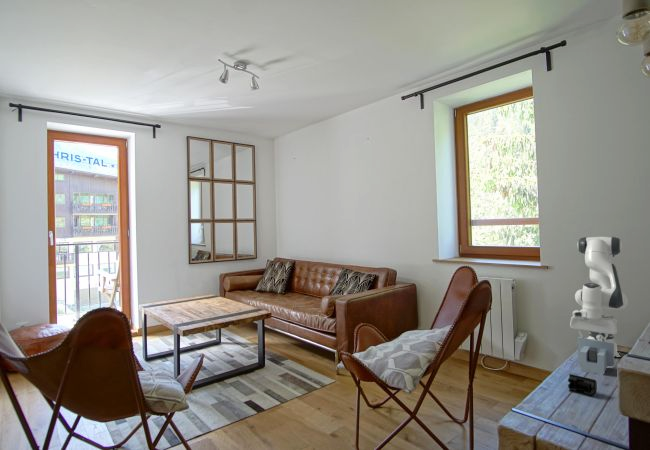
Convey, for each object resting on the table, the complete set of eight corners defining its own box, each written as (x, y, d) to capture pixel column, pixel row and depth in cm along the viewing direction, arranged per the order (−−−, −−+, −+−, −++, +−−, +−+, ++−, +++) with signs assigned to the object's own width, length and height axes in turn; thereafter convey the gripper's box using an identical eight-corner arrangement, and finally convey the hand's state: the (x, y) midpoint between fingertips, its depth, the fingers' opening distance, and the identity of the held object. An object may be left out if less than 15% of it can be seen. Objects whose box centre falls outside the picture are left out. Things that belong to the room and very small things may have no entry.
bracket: (590, 358, 197) (590, 347, 197) (597, 359, 195) (597, 348, 195) (589, 361, 193) (588, 349, 193) (596, 362, 191) (595, 350, 191)
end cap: (597, 393, 164) (596, 378, 164) (593, 398, 159) (593, 382, 159) (571, 386, 171) (570, 372, 172) (567, 391, 166) (566, 376, 167)
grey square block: (578, 361, 207) (578, 337, 207) (614, 368, 196) (613, 342, 196) (573, 369, 195) (573, 342, 195) (611, 376, 184) (610, 349, 184)
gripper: (617, 315, 190) (618, 342, 190) (571, 310, 204) (571, 334, 204) (616, 318, 186) (617, 345, 185) (569, 312, 200) (569, 337, 199)
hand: (593, 339), depth 195 cm, fingers open, 8 cm apart
